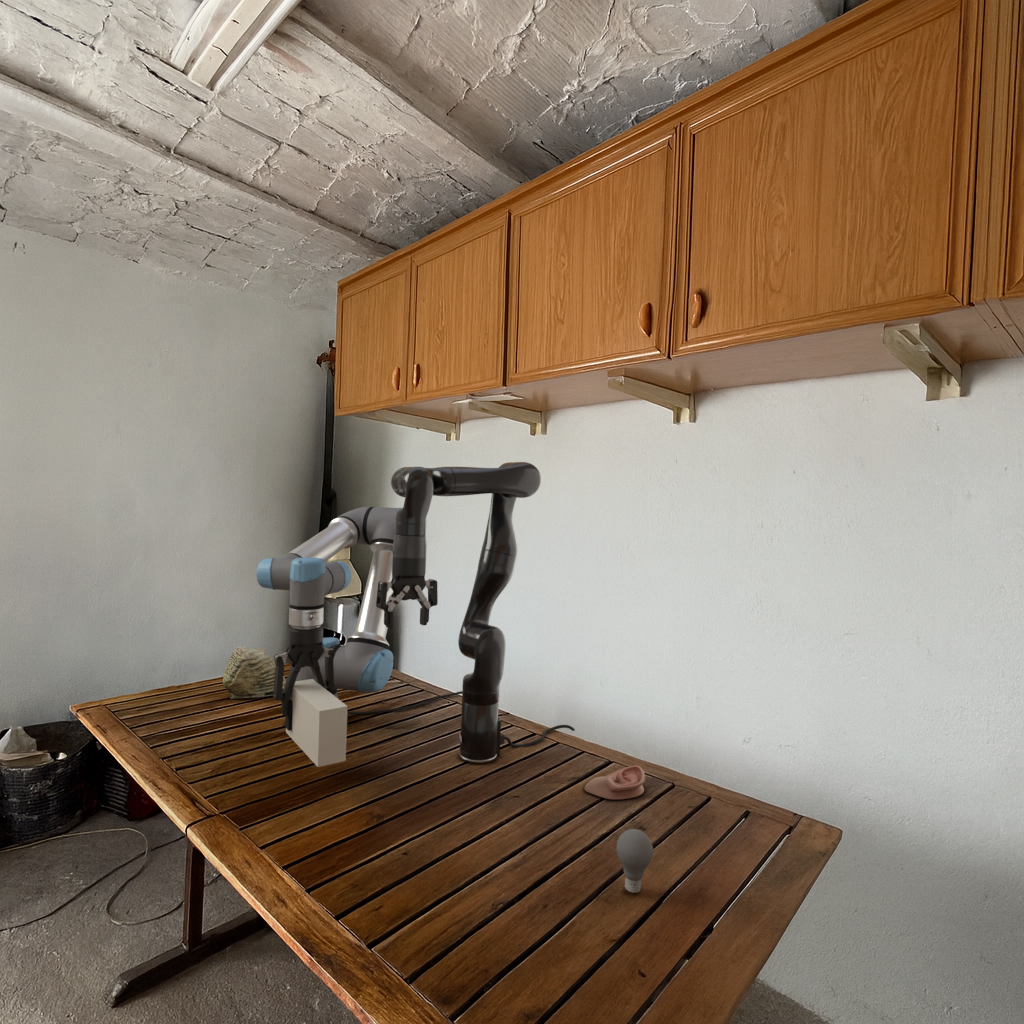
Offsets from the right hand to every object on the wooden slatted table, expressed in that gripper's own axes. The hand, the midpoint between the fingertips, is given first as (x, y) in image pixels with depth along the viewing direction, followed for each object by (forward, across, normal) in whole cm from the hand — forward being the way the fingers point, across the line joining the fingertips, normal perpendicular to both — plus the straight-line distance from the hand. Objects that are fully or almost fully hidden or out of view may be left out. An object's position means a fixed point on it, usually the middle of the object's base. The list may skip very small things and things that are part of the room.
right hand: (406, 626), depth 144 cm
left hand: (+24, -18, +15) cm, 33 cm away
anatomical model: (+35, +39, -30) cm, 60 cm away
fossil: (+35, -13, +76) cm, 85 cm away
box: (+26, -18, +7) cm, 32 cm away
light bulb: (+35, +14, -58) cm, 69 cm away
